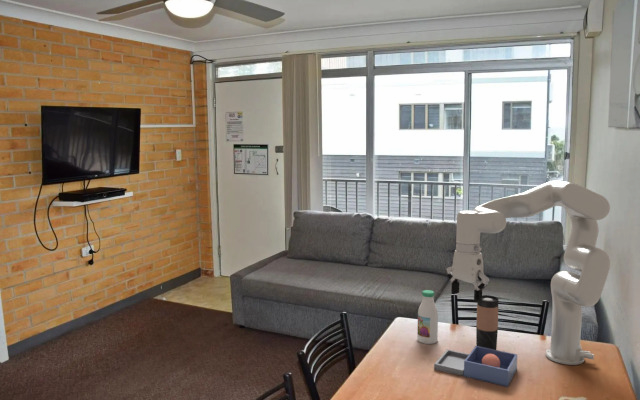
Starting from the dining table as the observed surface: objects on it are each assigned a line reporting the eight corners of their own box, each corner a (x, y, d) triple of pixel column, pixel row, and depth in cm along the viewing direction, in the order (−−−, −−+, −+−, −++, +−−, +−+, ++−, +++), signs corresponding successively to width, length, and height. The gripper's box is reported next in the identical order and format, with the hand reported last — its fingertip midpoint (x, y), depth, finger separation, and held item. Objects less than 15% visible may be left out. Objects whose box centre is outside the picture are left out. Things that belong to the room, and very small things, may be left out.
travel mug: (498, 354, 189) (500, 302, 187) (476, 353, 191) (478, 301, 188) (495, 346, 197) (497, 295, 194) (474, 344, 198) (476, 294, 196)
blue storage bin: (516, 369, 177) (517, 354, 177) (507, 387, 165) (508, 370, 165) (475, 360, 185) (475, 345, 184) (463, 376, 173) (464, 360, 172)
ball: (501, 369, 176) (502, 353, 175) (497, 377, 171) (498, 359, 170) (483, 365, 179) (484, 349, 178) (479, 372, 174) (479, 355, 173)
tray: (474, 360, 185) (474, 355, 185) (462, 376, 173) (463, 370, 173) (446, 354, 190) (447, 349, 190) (434, 369, 178) (434, 363, 178)
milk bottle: (430, 335, 208) (431, 287, 205) (441, 343, 200) (442, 293, 198) (413, 338, 205) (414, 289, 203) (423, 345, 198) (424, 295, 195)
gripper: (496, 251, 167) (494, 302, 169) (455, 241, 181) (454, 289, 183) (481, 254, 163) (479, 306, 165) (440, 244, 177) (439, 292, 179)
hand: (466, 297), depth 174 cm, fingers open, 9 cm apart
